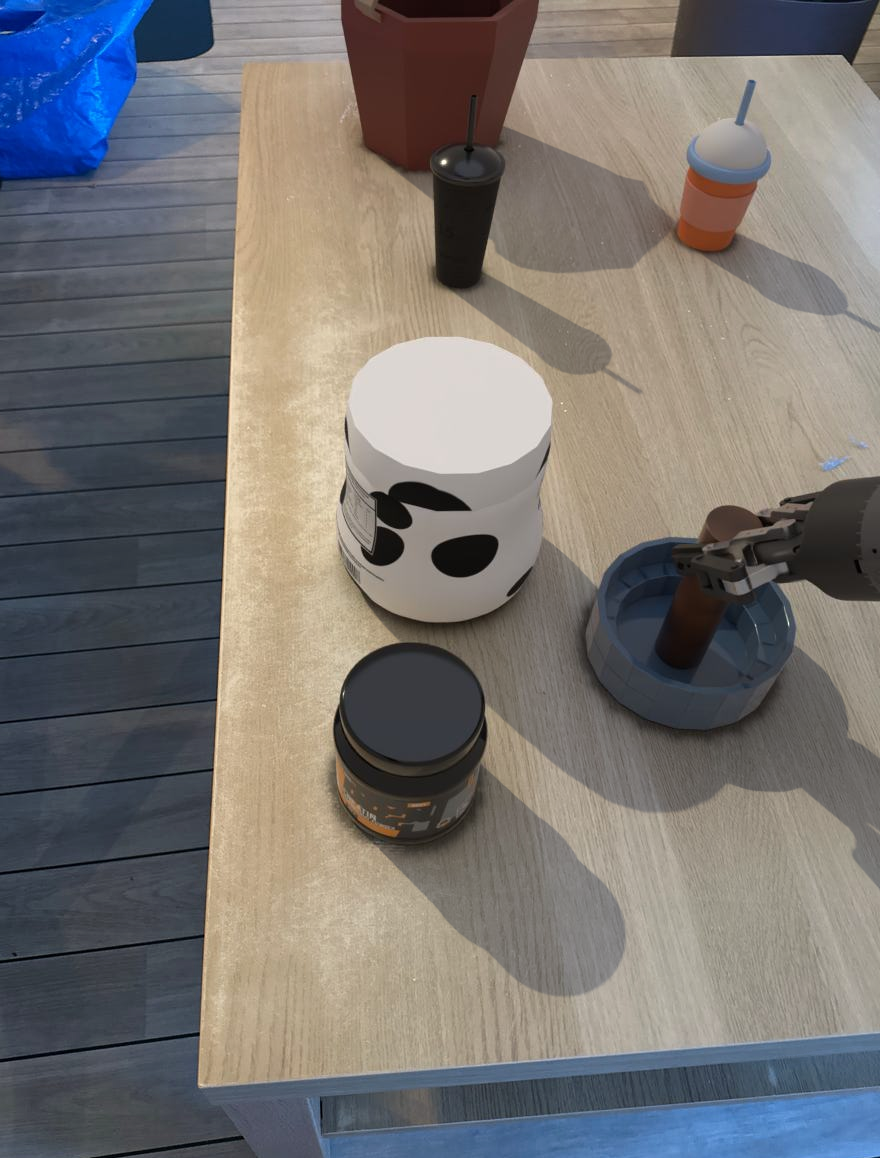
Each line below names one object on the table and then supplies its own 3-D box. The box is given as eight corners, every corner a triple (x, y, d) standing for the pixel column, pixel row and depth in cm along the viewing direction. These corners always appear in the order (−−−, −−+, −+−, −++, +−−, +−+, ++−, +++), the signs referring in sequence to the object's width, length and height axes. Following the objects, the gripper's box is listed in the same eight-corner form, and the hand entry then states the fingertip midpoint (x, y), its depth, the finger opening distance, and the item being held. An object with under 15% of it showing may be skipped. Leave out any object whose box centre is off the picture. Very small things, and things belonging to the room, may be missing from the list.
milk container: (560, 525, 90) (599, 365, 75) (492, 669, 80) (521, 518, 66) (386, 466, 93) (391, 302, 79) (302, 597, 84) (289, 439, 69)
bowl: (751, 586, 86) (775, 541, 81) (785, 738, 77) (814, 698, 73) (577, 579, 86) (590, 533, 81) (591, 730, 77) (607, 689, 72)
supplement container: (307, 771, 74) (299, 685, 65) (417, 700, 78) (425, 609, 69) (392, 878, 70) (398, 802, 60) (505, 797, 74) (527, 713, 64)
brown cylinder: (667, 622, 83) (720, 496, 71) (711, 644, 82) (773, 521, 69) (646, 653, 81) (696, 530, 69) (691, 677, 80) (750, 556, 67)
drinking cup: (440, 252, 114) (453, 69, 97) (502, 271, 112) (525, 88, 96) (411, 288, 110) (420, 103, 93) (475, 308, 108) (495, 123, 92)
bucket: (464, 84, 137) (482, -137, 117) (561, 159, 126) (599, -69, 106) (308, 127, 129) (298, -102, 108) (397, 211, 118) (405, -25, 98)
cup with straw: (695, 209, 120) (742, 52, 106) (757, 243, 117) (814, 84, 102) (648, 237, 117) (689, 78, 102) (710, 272, 113) (762, 112, 98)
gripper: (963, 429, 60) (746, 459, 75) (811, 532, 54) (611, 542, 70) (994, 542, 61) (776, 549, 77) (850, 652, 56) (647, 636, 71)
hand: (698, 546), depth 73 cm, fingers closed on brown cylinder, 4 cm apart
